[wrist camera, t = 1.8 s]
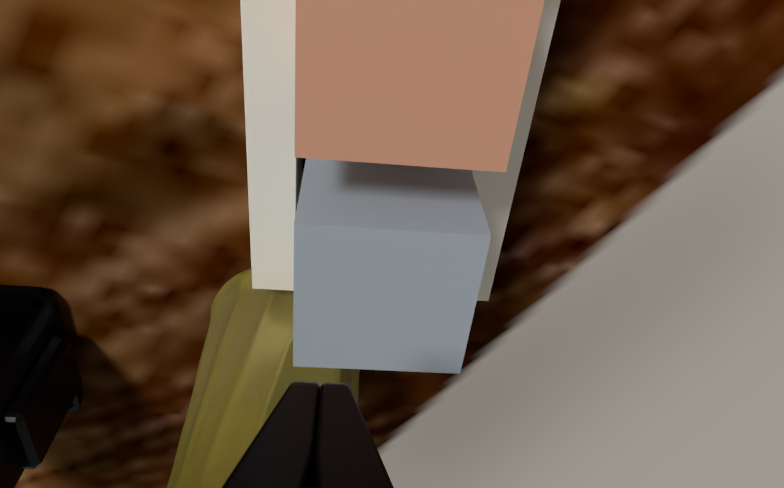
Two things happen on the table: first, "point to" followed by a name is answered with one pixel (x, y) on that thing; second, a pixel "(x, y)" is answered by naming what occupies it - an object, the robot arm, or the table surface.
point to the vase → (241, 380)
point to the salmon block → (412, 80)
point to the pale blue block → (386, 266)
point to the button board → (284, 171)
